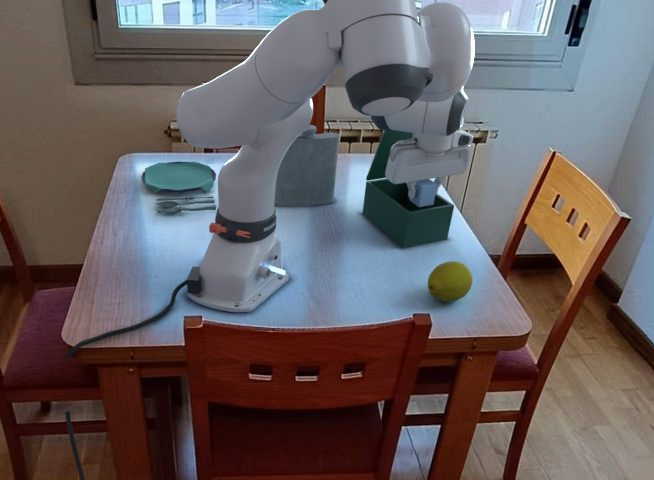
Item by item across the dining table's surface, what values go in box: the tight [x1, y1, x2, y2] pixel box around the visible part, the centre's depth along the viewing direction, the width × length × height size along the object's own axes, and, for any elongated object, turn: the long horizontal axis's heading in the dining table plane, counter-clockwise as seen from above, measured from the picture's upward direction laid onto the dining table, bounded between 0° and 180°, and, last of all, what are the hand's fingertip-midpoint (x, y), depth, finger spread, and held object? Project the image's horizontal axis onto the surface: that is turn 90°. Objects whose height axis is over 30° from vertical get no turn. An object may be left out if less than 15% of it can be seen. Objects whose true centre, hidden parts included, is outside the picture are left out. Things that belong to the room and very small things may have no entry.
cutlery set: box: [140, 161, 217, 214], centre depth 162 cm, size 20×30×2 cm, turn 11°
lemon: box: [427, 260, 473, 303], centre depth 123 cm, size 11×8×8 cm
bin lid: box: [365, 130, 413, 181], centre depth 146 cm, size 19×13×6 cm
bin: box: [362, 178, 455, 249], centre depth 149 cm, size 19×13×9 cm
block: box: [409, 179, 437, 207], centre depth 141 cm, size 4×4×5 cm
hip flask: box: [274, 124, 340, 207], centre depth 154 cm, size 16×4×20 cm, turn 103°
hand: (422, 195), depth 141 cm, fingers closed on block, 4 cm apart
